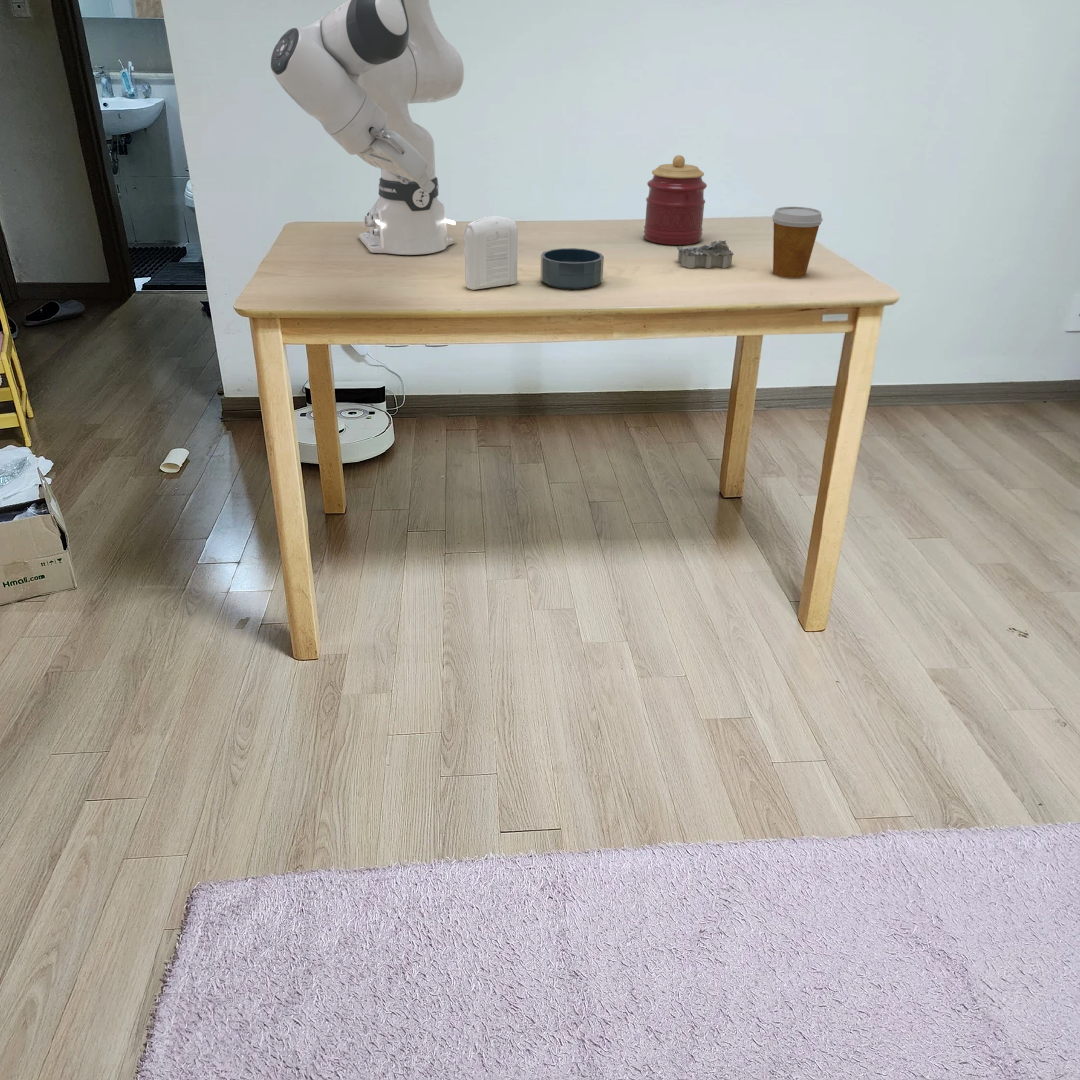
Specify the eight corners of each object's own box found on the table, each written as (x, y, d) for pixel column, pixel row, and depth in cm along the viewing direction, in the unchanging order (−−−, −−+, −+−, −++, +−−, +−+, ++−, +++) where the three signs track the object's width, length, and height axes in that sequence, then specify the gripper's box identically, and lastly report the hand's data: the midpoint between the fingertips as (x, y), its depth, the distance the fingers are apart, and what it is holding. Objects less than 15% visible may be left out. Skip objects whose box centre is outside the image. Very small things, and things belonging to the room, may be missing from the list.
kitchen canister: (632, 240, 209) (638, 155, 200) (660, 230, 218) (666, 149, 209) (685, 248, 202) (692, 161, 193) (711, 238, 212) (720, 154, 203)
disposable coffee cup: (815, 270, 188) (825, 208, 182) (811, 282, 180) (821, 217, 174) (767, 266, 190) (776, 204, 184) (761, 277, 183) (769, 213, 176)
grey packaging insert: (725, 260, 195) (728, 239, 193) (733, 269, 188) (736, 248, 186) (675, 259, 194) (676, 239, 192) (681, 268, 188) (683, 247, 186)
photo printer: (508, 279, 179) (508, 212, 173) (520, 284, 176) (521, 216, 170) (461, 286, 174) (459, 217, 168) (473, 292, 171) (471, 222, 165)
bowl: (529, 278, 179) (530, 252, 177) (580, 271, 185) (581, 245, 182) (561, 293, 171) (562, 266, 168) (613, 285, 176) (615, 258, 173)
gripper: (397, 115, 142) (457, 179, 151) (349, 104, 157) (406, 162, 167) (372, 149, 142) (433, 210, 152) (326, 134, 158) (384, 190, 167)
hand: (419, 185), depth 159 cm, fingers open, 8 cm apart
